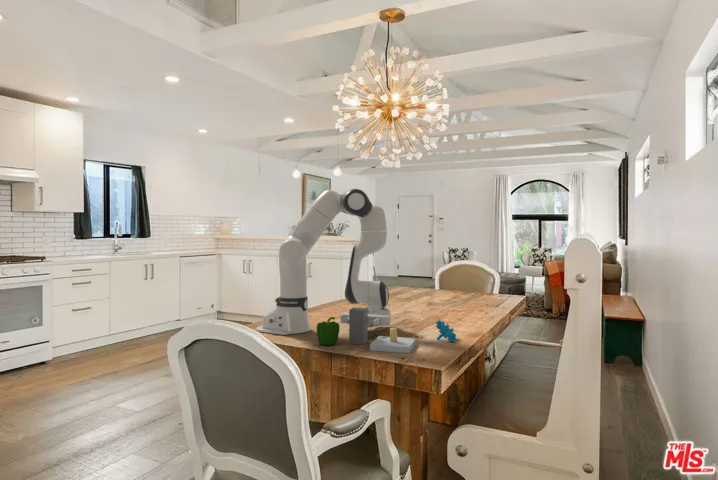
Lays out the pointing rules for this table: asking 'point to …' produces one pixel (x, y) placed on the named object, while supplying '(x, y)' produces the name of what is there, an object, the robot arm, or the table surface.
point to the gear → (445, 331)
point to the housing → (358, 325)
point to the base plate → (393, 343)
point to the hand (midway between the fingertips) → (360, 322)
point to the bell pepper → (328, 332)
